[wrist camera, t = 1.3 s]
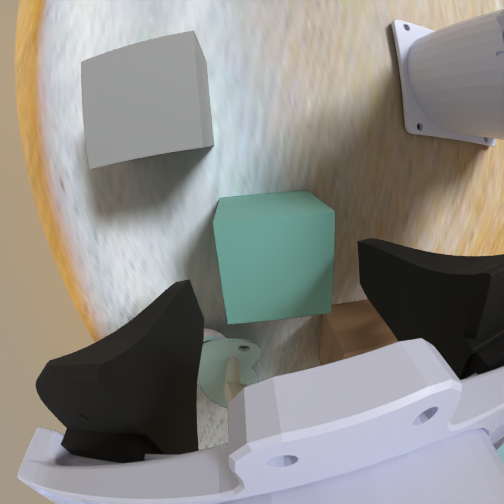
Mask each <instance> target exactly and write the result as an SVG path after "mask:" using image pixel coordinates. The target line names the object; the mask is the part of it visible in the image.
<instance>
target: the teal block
mask: <svg viewBox="0 0 504 504" xmlns="http://www.w3.org/2000/svg"><path fill="white" fill-rule="evenodd" d="M213 228H214V235H215V242H216V250H217V257H218V264H219V271H220V278H221V284H222V291H223V297H224V304H225V310H226V316H227V323H228V324H238V323H249V322H259V321H269V320H278V319H287V318H295V317H303V316H311V315H318V314H325V313H331V307H332V292H333V274H334V247H335V211H334V210H332V209H331V208H330V207H328V206H327V205H326V204H325V203H323V202H322V201H321V200H319V199H318V198H317V197H315V196H314V195H313V194H311V193H310V192H309V191H292V192H278V193H266V194H254V195H243V196H233V197H223V198H220V200H219V203H218V206H217V210H216V213H215V216H214V220H213Z"/></svg>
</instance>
